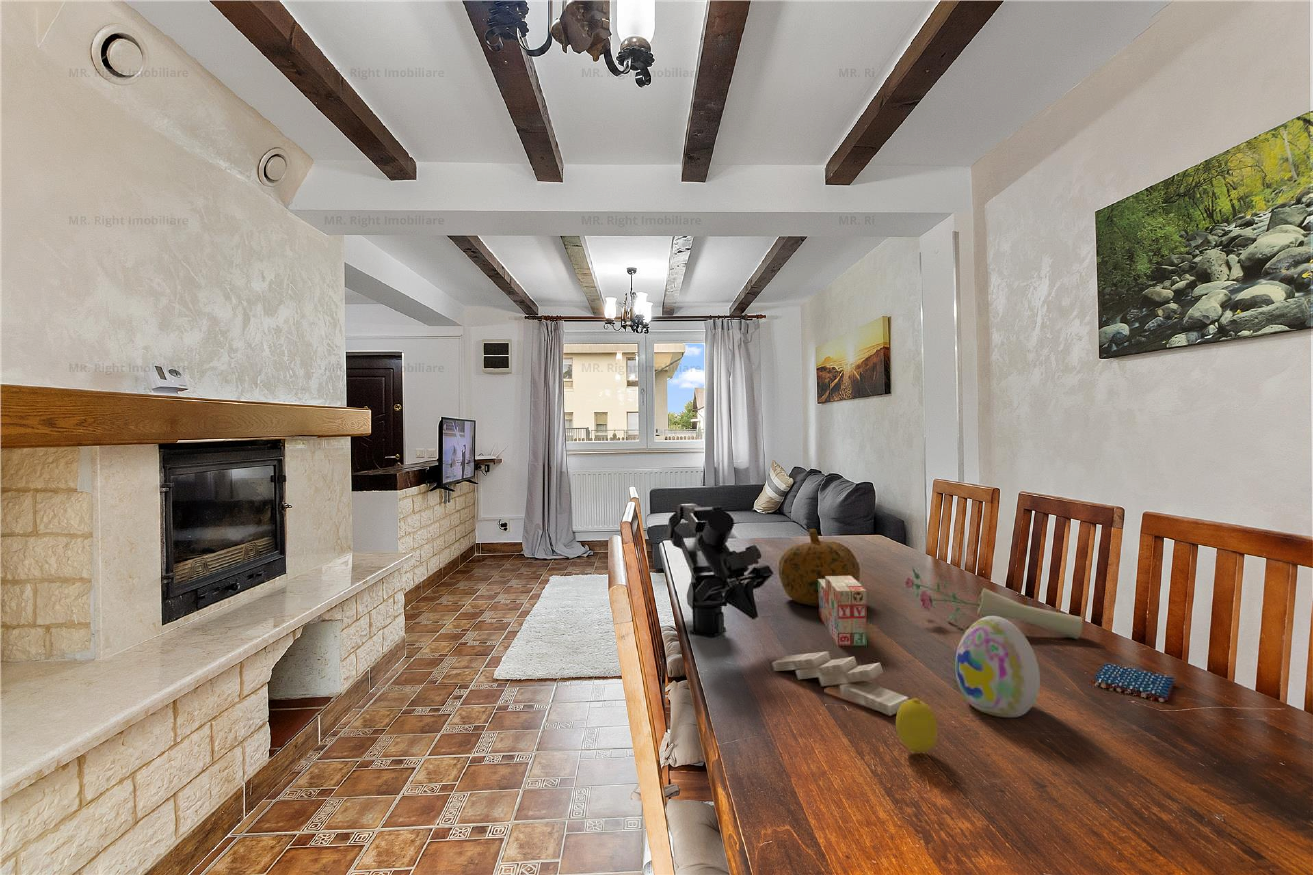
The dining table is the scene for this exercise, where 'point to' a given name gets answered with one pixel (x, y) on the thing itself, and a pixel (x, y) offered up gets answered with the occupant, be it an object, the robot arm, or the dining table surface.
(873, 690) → the domino
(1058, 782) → the dining table surface
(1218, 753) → the dining table surface
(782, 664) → the domino
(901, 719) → the lemon
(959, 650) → the decorative egg
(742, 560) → the robot arm
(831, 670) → the domino
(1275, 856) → the dining table surface
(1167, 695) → the woven mat
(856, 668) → the domino
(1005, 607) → the flower vase
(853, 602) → the stack of blocks
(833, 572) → the decorative pumpkin
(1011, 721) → the dining table surface
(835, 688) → the domino
